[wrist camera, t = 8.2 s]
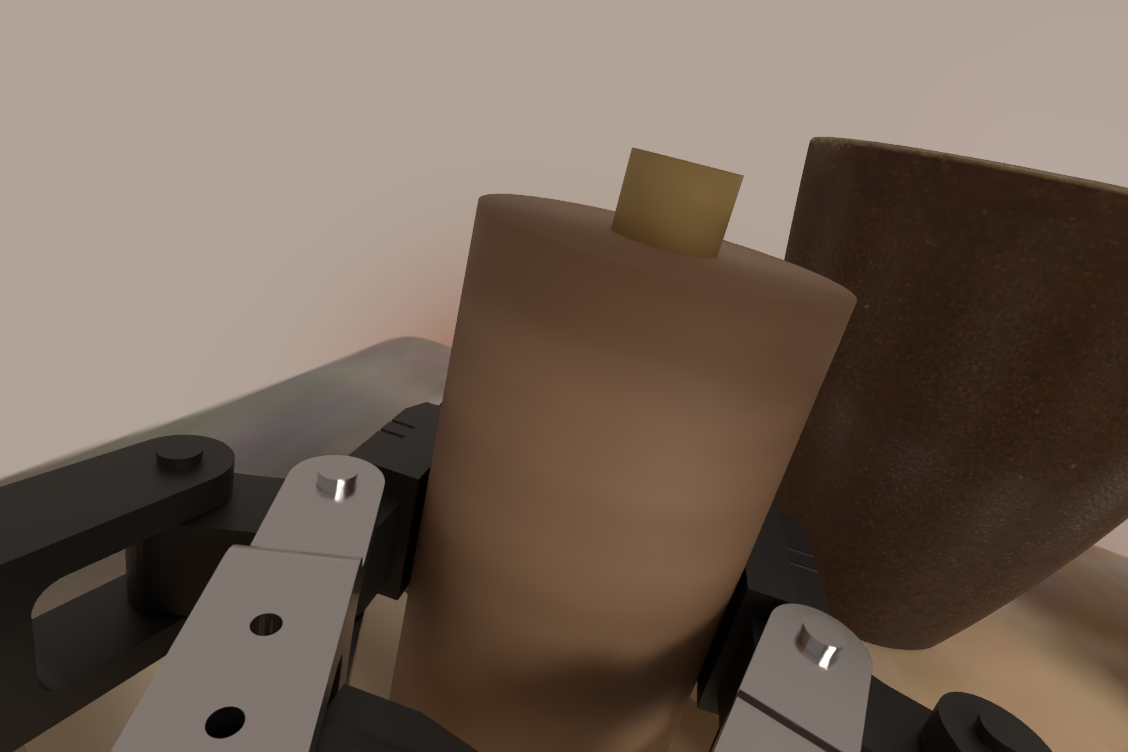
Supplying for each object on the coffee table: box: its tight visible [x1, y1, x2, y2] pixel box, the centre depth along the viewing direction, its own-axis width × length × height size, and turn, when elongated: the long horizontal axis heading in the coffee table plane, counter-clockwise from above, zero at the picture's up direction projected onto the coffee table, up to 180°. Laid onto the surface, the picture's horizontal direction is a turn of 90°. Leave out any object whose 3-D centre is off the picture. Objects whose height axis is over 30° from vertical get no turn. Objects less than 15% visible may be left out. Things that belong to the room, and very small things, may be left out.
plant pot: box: [775, 137, 1128, 650], centre depth 23 cm, size 15×15×16 cm
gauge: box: [389, 148, 857, 752], centre depth 12 cm, size 10×5×12 cm, turn 167°
